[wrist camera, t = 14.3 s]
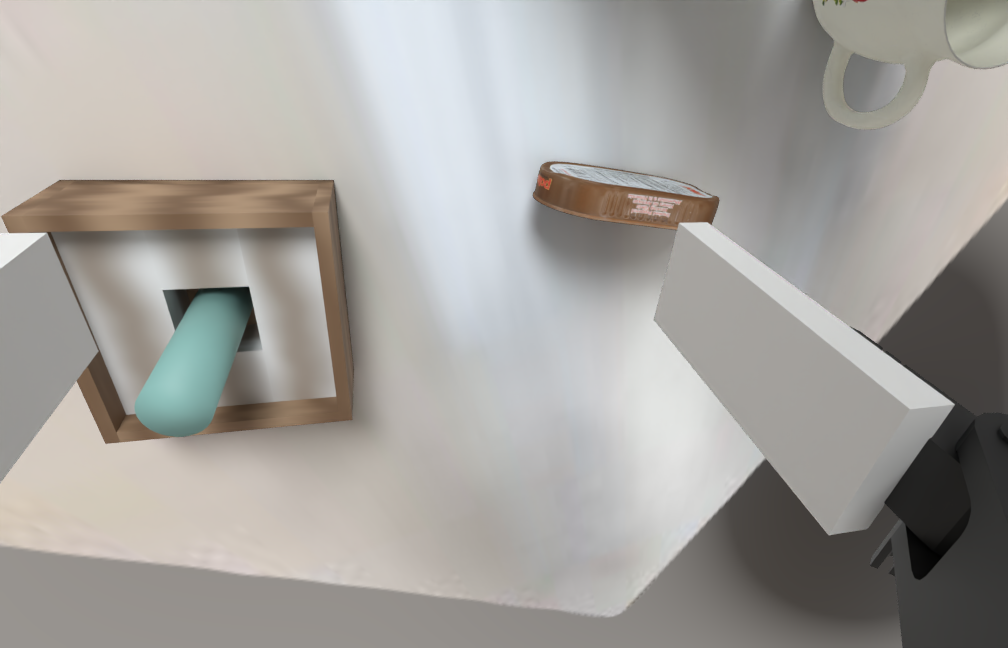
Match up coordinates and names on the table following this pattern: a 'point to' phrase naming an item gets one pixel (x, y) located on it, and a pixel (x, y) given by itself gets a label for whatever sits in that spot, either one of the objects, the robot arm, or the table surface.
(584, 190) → the tin
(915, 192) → the table surface
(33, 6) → the table surface
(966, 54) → the pitcher
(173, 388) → the peg
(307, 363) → the bore box
